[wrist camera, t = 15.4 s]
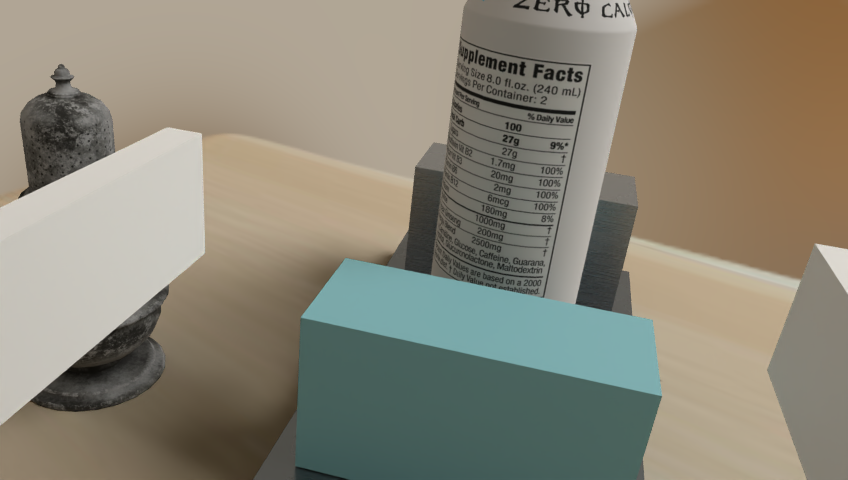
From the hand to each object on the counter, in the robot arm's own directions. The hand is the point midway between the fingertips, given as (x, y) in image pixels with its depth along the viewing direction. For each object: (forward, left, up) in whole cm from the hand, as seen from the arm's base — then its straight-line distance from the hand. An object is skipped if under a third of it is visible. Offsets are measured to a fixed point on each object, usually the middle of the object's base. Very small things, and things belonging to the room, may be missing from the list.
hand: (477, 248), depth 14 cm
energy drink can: (0, -14, -11) cm, 17 cm away
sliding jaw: (0, -6, -10) cm, 12 cm away
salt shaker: (+15, -8, -12) cm, 21 cm away
